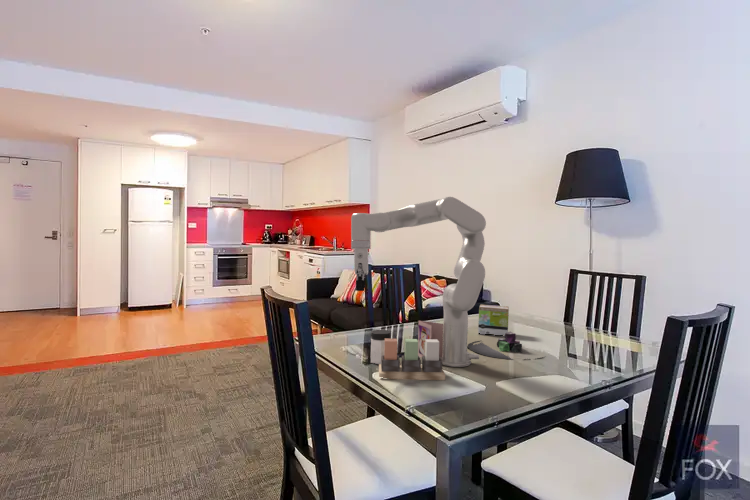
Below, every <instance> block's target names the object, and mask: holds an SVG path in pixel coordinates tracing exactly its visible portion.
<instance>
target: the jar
mask: <svg viewBox="0 0 750 500" xmlns="http://www.w3.org/2000/svg"><path fill="white" fill-rule="evenodd" d="M385 338H387V339H392V332H391V331H390V330H387V329H373V330H371V331H370V364H374V363H375V365H379V364H381V355H384V342H385Z"/></svg>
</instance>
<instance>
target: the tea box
mask: <svg viewBox="0 0 750 500" xmlns="http://www.w3.org/2000/svg"><path fill="white" fill-rule="evenodd" d="M509 311H510V310H509V306H505V305H494V304H493V305H491V304H482V303H481V304H480V305H479V308H478V327H477V334H478V333H480V334H479V335H485V334H494V335H493V336H495V335H504V336H505V333H507V332H509V317H510V316H509V315H510V314H509ZM504 336H503V337H504Z"/></svg>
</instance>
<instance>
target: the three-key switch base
mask: <svg viewBox="0 0 750 500" xmlns="http://www.w3.org/2000/svg"><path fill="white" fill-rule="evenodd" d="M400 359H401V360H400ZM400 363H401V364H400ZM379 377H383V378H389V379H388V380H404V381H405V380H406V381H407V380H410V381H411V380H414V381H417V380H418V381H446V373H445V371H444V370H443V364H442V360H441V358H440V357H439V361H426V359H425V356H422V357H420V356H418V360H405V355H401V358H400V355H397V360H384V355H381V364H378V378H379Z"/></svg>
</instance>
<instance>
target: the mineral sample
mask: <svg viewBox="0 0 750 500" xmlns="http://www.w3.org/2000/svg"><path fill="white" fill-rule="evenodd" d="M516 337H517V334H516V333H514V332H512V331H508V332H507V333H505V336H503V337H501V338H498V340H497V342H496V347H497V348H498V349H499V351H498V350H495V349H494V348H492V347H490V346H489V345H487V344H485V343H483V342H481V340H475V341H472V342H469V343H468V344H467V349H469V350H471V352H472V351H473V352H474V353H476V354H479V355H483V356H486V357H489V358H497V359H503V360H511V361H514V358H512V357H510V356H509V355H506V354H504V353H502V352H514V353H517V354H519V353H520V354H521V353H523V352H522V351H523V343H520V341H519V340H518V339H517V338H516ZM545 357H546V356H543V357H537V358H536V360H540V359H543V358H545ZM523 361H531V358H530V357H529V358H525V359H523Z"/></svg>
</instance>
